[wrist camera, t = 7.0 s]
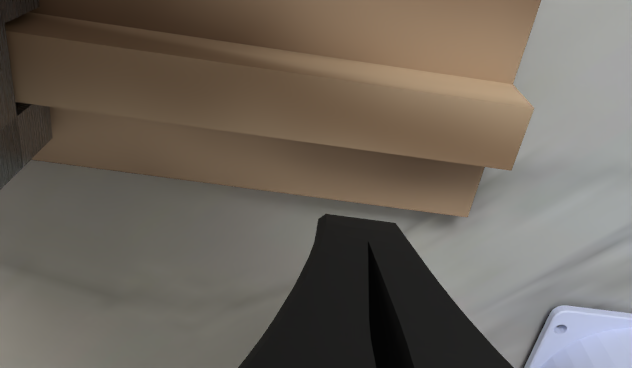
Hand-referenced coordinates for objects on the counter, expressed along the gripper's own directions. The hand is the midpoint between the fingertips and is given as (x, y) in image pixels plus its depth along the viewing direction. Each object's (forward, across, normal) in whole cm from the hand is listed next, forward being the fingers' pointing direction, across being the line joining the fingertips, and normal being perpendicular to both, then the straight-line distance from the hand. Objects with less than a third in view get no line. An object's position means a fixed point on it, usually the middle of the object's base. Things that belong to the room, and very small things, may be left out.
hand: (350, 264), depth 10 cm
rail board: (+10, +5, 0) cm, 11 cm away
